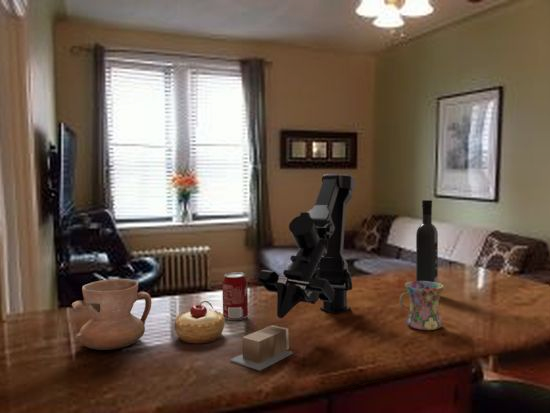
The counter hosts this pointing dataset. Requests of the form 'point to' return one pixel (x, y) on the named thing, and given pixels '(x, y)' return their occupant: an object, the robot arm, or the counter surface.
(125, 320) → the ceramic jug
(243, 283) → the soda can
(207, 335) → the pastry
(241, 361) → the mat
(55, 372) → the counter surface
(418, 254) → the wine bottle
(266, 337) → the block
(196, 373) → the counter surface
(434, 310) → the mug
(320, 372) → the counter surface
